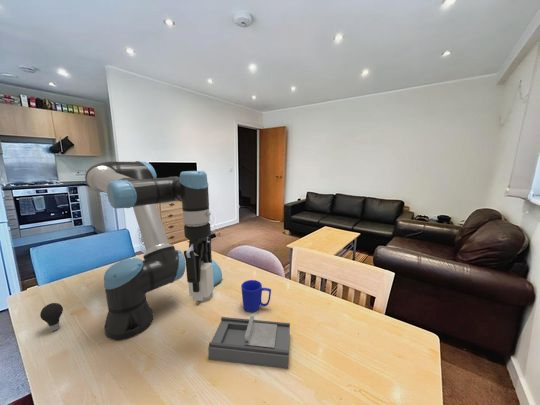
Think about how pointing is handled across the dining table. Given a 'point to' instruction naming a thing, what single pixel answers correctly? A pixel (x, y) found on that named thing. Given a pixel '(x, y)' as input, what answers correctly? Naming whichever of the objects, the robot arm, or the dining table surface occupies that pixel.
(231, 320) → the sliding lid box
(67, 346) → the dining table surface
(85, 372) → the dining table surface
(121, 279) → the robot arm
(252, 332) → the plate
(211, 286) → the plug
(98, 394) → the dining table surface
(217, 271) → the sugar bowl
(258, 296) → the mug
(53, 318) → the light bulb
